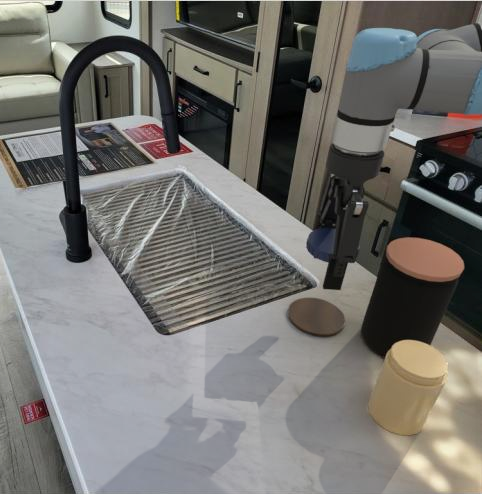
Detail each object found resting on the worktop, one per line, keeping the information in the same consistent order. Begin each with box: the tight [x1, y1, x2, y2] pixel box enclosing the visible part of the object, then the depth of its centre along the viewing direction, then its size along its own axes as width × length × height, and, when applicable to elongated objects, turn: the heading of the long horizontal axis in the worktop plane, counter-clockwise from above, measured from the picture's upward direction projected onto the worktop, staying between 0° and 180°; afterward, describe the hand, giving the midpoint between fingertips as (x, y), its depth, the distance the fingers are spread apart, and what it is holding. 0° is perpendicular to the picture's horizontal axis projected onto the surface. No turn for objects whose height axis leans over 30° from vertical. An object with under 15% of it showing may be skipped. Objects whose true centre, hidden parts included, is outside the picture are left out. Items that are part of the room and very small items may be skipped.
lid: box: [305, 227, 361, 264], centre depth 78 cm, size 8×8×2 cm
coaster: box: [287, 297, 346, 338], centre depth 87 cm, size 10×10×1 cm
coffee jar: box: [360, 236, 465, 358], centre depth 77 cm, size 11×11×18 cm
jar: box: [367, 340, 449, 436], centre depth 67 cm, size 8×8×12 cm
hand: (326, 272), depth 81 cm, fingers closed on lid, 8 cm apart
